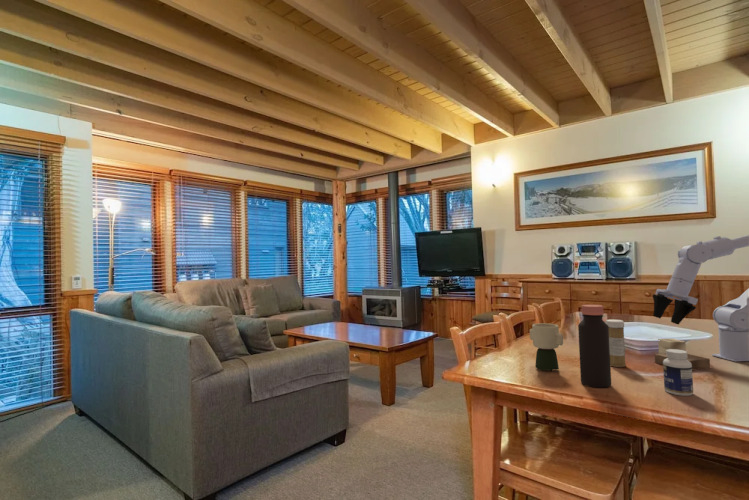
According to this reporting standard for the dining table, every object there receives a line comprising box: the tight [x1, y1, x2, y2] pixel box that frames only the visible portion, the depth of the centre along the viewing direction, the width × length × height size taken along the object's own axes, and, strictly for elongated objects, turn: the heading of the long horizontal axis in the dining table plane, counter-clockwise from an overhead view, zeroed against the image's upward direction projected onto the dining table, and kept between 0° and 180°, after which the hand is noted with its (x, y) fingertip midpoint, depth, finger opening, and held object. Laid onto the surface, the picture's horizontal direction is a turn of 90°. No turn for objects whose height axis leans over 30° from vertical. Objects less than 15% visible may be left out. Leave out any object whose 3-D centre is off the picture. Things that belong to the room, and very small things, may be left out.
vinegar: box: [577, 304, 612, 389], centre depth 100 cm, size 7×7×20 cm
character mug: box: [529, 322, 564, 372], centre depth 113 cm, size 11×7×13 cm, turn 29°
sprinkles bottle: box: [605, 318, 627, 368], centre depth 116 cm, size 5×5×14 cm
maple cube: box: [657, 338, 687, 354], centre depth 125 cm, size 5×5×5 cm
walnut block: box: [654, 353, 711, 371], centre depth 114 cm, size 9×9×3 cm
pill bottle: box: [662, 349, 694, 397], centre depth 92 cm, size 5×5×10 cm
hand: (665, 320), depth 125 cm, fingers open, 7 cm apart
